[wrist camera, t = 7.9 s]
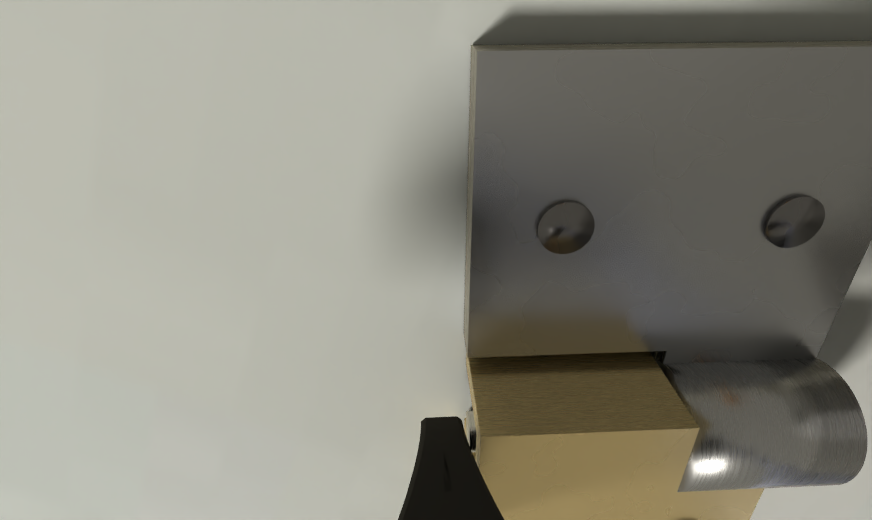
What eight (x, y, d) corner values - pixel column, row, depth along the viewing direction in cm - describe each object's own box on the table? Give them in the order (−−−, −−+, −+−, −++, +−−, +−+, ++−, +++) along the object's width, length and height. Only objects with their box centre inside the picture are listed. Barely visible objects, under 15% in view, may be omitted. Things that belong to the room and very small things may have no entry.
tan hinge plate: (701, 561, 18) (749, 657, 16) (459, 574, 18) (468, 673, 16) (798, 335, 13) (893, 420, 11) (466, 346, 13) (481, 437, 10)
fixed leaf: (755, 415, 15) (834, 513, 12) (461, 427, 15) (473, 530, 12) (913, 40, 10) (1108, 61, 7) (470, 45, 10) (496, 68, 7)
